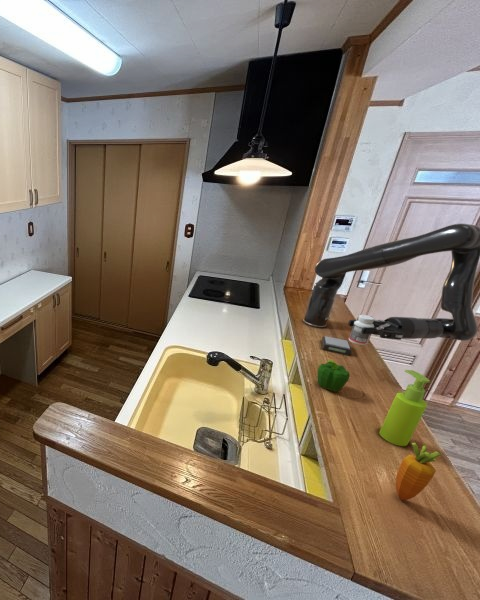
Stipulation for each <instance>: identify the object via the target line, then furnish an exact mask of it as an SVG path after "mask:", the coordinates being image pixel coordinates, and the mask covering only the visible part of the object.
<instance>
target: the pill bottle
mask: <svg viewBox="0 0 480 600" xmlns="http://www.w3.org/2000/svg"><path fill="white" fill-rule="evenodd" d="M358 317H359V318H358ZM358 317H357V318H358V320H357V319H356V320H357V321H355V322H354V325H353V326H352V328H351V331H350V334H349V336H348V342H350V343H352V344H355V345H359V346H367V345H368V344H369V342H370V339H371V337H372V334H362V333H361V331H362V328H363V327H371V328H374V325H373V324H372V323H373V321H374V320H375V318H374V317H373V316H372V317H371V315H367V314H359V316H358Z"/></svg>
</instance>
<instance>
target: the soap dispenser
mask: <svg viewBox="0 0 480 600" xmlns="http://www.w3.org/2000/svg"><path fill="white" fill-rule="evenodd" d="M404 372H405V373H407V374H409V375H410V376H412V377H414V378H415V379H414V382H413V384H412V383H411V384H408V385H407V386H406V388H405V390H404V392H397V393H396V394H395V397H394V398H393V401H392V403H391V405H390V408H389V410H388V411H387V414H386V416H385V418H384V421H383V423H382V425H381V427H380V429H379V436H380V437H381V438H382V439H384V440H385V441H386V442H388V443H390V444H392V445H395V446H399V447H406V446H408V445H409V443H410V441H411V439H412V437H413V435H414V433H415V430H416V429H417V427H418V426H419V422H420V421H421V418H422V417H423V414H425V411H426V409H427V407H428V403H427V402H426V400H424V396H425V395H426V391H427V390H426V389H425V388H424V386H425V384H430V383H431V380H430V379H429V378H427V377H426V376H424V375H423V374H421V373H419V372H418V371H415V370H413V369H411V370H410V369H404Z"/></svg>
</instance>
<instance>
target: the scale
mask: <svg viewBox="0 0 480 600" xmlns="http://www.w3.org/2000/svg"><path fill="white" fill-rule="evenodd" d="M320 342H321V346H322V350H323V351H327V352H331V353H336V354H341V355H345V356H348V357H350V356H351V354H352V348H351V345H350V341H349V340H346V339H342V338H336V337H332V336H326V335H325V336H322V338H321V340H320Z"/></svg>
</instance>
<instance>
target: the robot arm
mask: <svg viewBox="0 0 480 600" xmlns="http://www.w3.org/2000/svg"><path fill="white" fill-rule="evenodd" d="M445 252H451V265H450V269H449V272H448V274H447V275H446V278H445V280H444V282H443V285H442V288H441V297H440V309H441V310H442V311H444V312H447V313H450V314H451V317H452V318H447V317H436V318H427V317H426V318H424V317H423V318H421V317H420V318H419V317H411V316H410V317H409V316H390V317H387V318H386V319H374V321H373V323H372V324H373V325H374V328H371V327H363V328H362V331H361V333H362V334H371V335H373V336H378V337H379V338H381V339H389V340H397V341H401V340H416V339H423V340H424V339H426V340H427V339H431V340H432V339H437V338H441V339H449V340H455V341H462V342H467V341H470V340H472V339H474V338H475V337H476V335H477V333H478V323H477V320H476V317H475V315H474V314H475V313H474V310H473V298H474V285H475V280H476V279H475V278H476V273H477V269H478V265H479V261H480V226H478V225H475V224H469V223H455V224H450V225H447V226H444V227H441V228H438V229H436V230H435V229H434V230H432V231H430V232H427V233H423V234H421V235H417V236H413V237H408V238H407V237H406V238H402V239H397V240H395V241H390V242H386V243H382V244H377V245H375V246H371V247H367V248H364V249H361V250H357V251H355V252H352V253H349V254H346V255H341V256H335V257H328V258H323V259H321V260H320V261H318V262H317V263H316V265H315V267H314V273H315V274H316V275H317V276H318V277H320V279H319V280H318V281H317V282H315V283H314V285H313V287H312V292H311V295H310V298H309V302H308V304H307V309H306V311H305V315H304V318H303V320H302V321H303V323H304V324H306V325H308V326H311V327H314V328H326V327H327V324H328V321H329V320H330V319H331V316H330V315H331V312H332V309H333V306H334V303H335V299H336V296H337V293H338V291H339V289H340V288H341V287H342V286H343V283H344V279H345V277H346V274H347V273H351V272H359V271H367V270H369V271H370V270H374V269H375V270H376V269H382V268H388V267H391V266H392V267H393V266H397V265H400V264H404V263H406V262H408V261H411V260H413V259H415V258H418V257H422V256H425V255H430V254H437V253H445ZM370 316H371V315H370ZM371 317H373V316H371ZM358 318H359V316H358V317H357V318H356V319H349V320H348V323H347V325H348V326H349V327H353V325H354V322H355V321H357V320H358Z"/></svg>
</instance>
